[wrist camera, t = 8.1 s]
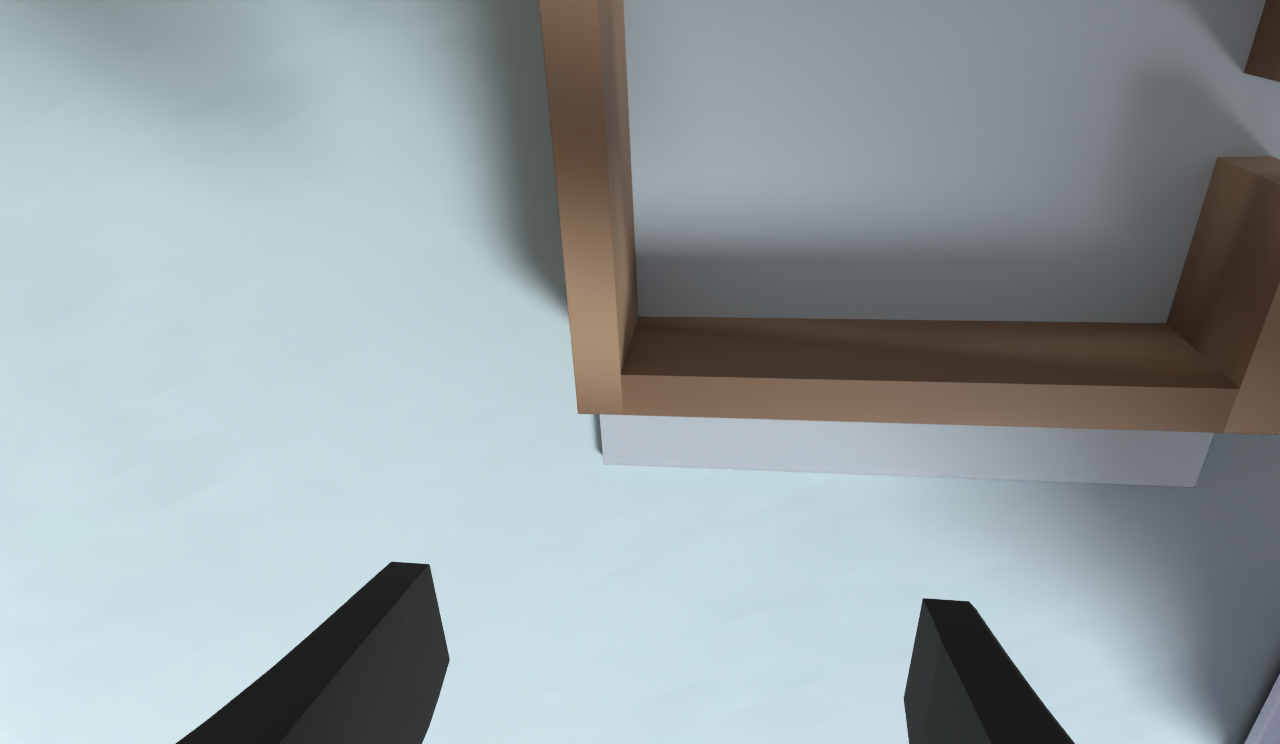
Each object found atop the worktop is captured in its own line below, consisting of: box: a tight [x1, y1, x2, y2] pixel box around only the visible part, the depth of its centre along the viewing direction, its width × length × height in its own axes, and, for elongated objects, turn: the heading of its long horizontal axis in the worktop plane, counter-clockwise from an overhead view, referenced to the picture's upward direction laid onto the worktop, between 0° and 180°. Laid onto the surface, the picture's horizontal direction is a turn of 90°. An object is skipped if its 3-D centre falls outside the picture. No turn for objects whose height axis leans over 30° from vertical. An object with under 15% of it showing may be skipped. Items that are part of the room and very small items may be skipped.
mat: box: [600, 0, 1280, 487], centre depth 16 cm, size 18×15×1 cm
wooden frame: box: [539, 0, 1280, 435], centre depth 15 cm, size 11×14×3 cm
